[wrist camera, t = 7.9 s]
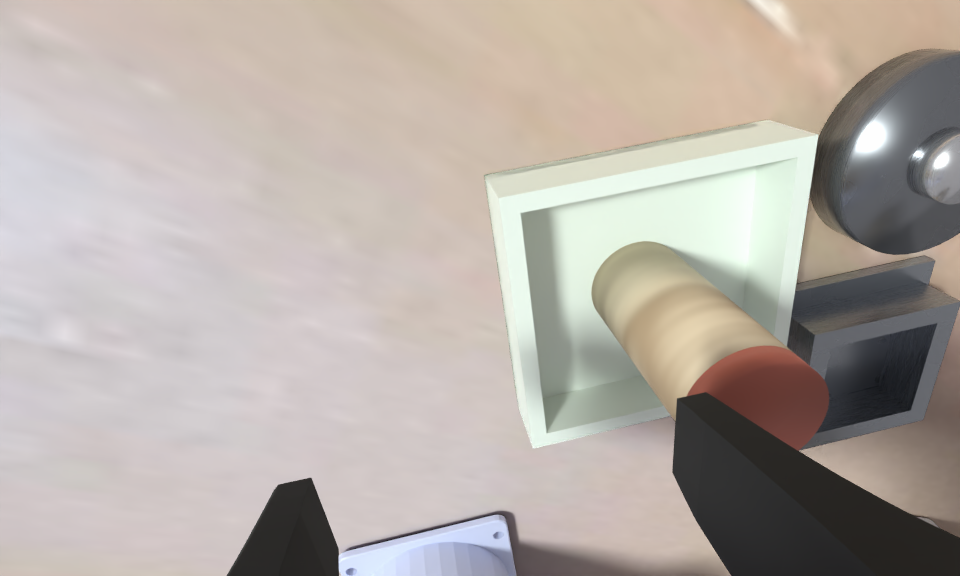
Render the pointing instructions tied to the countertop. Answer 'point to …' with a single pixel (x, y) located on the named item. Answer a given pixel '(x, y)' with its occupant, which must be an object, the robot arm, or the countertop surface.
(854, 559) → the robot arm
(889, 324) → the block
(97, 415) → the countertop surface
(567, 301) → the tray
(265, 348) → the countertop surface
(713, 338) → the pin
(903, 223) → the grey metal round disc
